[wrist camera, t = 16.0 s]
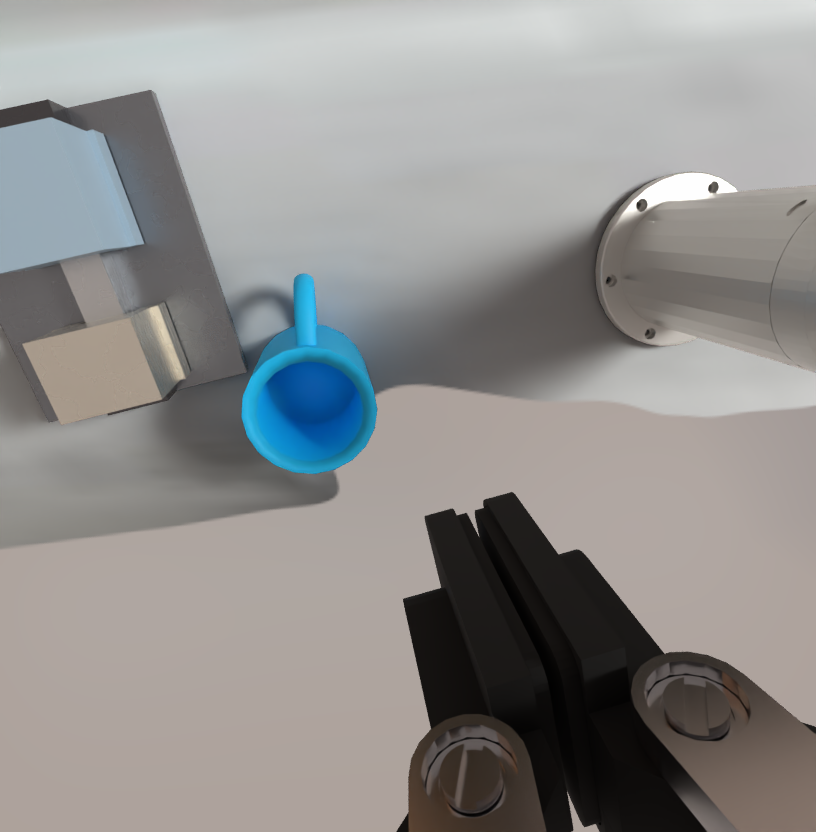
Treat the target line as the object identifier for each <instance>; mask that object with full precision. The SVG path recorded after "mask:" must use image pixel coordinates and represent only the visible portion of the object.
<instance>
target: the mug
mask: <svg viewBox="0 0 816 832" xmlns="http://www.w3.org/2000/svg"><path fill="white" fill-rule="evenodd" d="M294 320H295V326H294V327H290V328H289V329H287V330H285V331H283V332H281V333H279V334H278V335H276V336H275V337H274V338H273V339H272V340H271V341H270V342H269V343H268V345H267V346H266V347H265V348H264V350H263V352H262V354H261V356H260V358H259V361H258V363H257V365H256V367H255V369H254V372H253V374H252V376H251V378H250V381H249V383H248V385H247V388H246V390H245V392H244V395H243V400H242V420H243V424H244V427H245V430H246V434H247V437H248V438H249V440H250V441H251V442H252V444H253V445H254V447H255V448H256V450H257V451H258V452H259V453H260V454H261V455H262V456H264V457H265V458H266V459H267V460H269V461H270V462H271V463H273V464H274V465H276V466H278V467H281V468H284V469H286V470H289V471H292V472H295V473H309V474H317V473H321V472H326V471H331V470H335V469H337V468H338V467H340V466H342V465H344V464H346V463H348V462H350V461H351V460H353V459H354V458H355V457H356V456H357V455H358V454H359V452H361V450H362V449H364V448H365V446H366V445H367V443H368V441H369V439H370V437H371V435H372V433H373V431H374V428H375V422H376V415H377V406H376V400H375V395H374V390H373V387H372V384H371V381H370V378H369V374H368V371H367V368H366V365H365V362H364V359H363V357H362V356H361V354H360V352H359V350H358V349H357V347H356V345H355V344H354V343H353V342H352V341H350V340H349V339H348V338H347V337H346V336H345V335H344V334H343V333H341V332H339V331H337V330H334V329H332V328H330V327H328V326H323V325H317V315H316V301H315V288H314V281H313V278H312V277H311V276H310V275H308V274H299V275H297V276H296V277H295V279H294Z"/></svg>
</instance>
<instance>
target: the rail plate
mask: <svg viewBox="0 0 816 832" xmlns="http://www.w3.org/2000/svg"><path fill="white" fill-rule="evenodd" d="M50 117H52V118H54V119H57V120H60V121H62V122H65V123H67V124H70V125H72V126H75V127H77V128H80V129H82V130H85V131H89V130H95V131H98V132H100V133H103V134H104V137H105V140H106V142H107V145H108V148H109V150H110V153H111V156H112V158H113V161H114V164H115V166H116V169H117V172H118V175H119V177H120V180H121V183H122V185H123V188H124V191H125V193H126V196H127V199H128V201H129V204H130V207H131V209H132V212H133V215H134V217H135V220H136V223H137V225H138V228H139V231H140V233H141V236H142V239H143V242H144V244H143V245H138V246H134V247H130V248H126V249H121V250H115V251H109V252H104V253H100V254H96V255H91V256H87V257H83V258H78V259H74V260H70V261H65V262H61V263H60V264H56V265H52V266H48V267H44V268H39V269H34V270H27V271H25V270H24V271H18V272H11V273H5V274H0V324H1V326H2V328H3V330H4V332H5V334H6V336H7V338H8V340H9V342H10V344H11V346H12V348H13V350H14V353H15V355H16V357H17V359H18V361H19V363H20V365H21V367H22V369H23V371H24V373H25V375H26V377H27V379H28V381H29V383H30V385H31V387H32V389H33V391H34V393H35V395H36V397H37V400H38V402H39V404H40V406H41V408H42V410H43V412H44V414H45V416H46V418H47V420H48V422H53V421H57V420H59V422H60V424H61V425H63V424H67V423H71V422H75V421H79V420H83V419H87V418H91V417H95V416H99V415H103V414H108V415H112V414H116V413H120V412H124V411H128V410H132V409H135V408H139V407H143V406H147V405H151V404H155V403H159V402H163V401H167V400H169V399H170V398H171V396H172V395H173V394H174V393H175V392H176V391H177V390H179V389H183V388H187V387H191V386H195V385H199V384H203V383H207V382H211V381H215V380H219V379H223V378H227V377H231V376H235V375H239V374H243V373H247V371H248V366H247V363H246V360H245V358H244V355H243V352H242V349H241V346H240V343H239V340H238V337H237V334H236V331H235V328H234V325H233V322H232V319H231V316H230V313H229V310H228V307H227V304H226V301H225V298H224V295H223V292H222V289H221V286H220V283H219V280H218V277H217V275H216V272H215V269H214V266H213V263H212V260H211V257H210V254H209V251H208V248H207V245H206V242H205V239H204V236H203V233H202V230H201V227H200V224H199V221H198V218H197V215H196V212H195V209H194V206H193V203H192V200H191V197H190V194H189V192H188V189H187V186H186V183H185V180H184V177H183V174H182V171H181V168H180V165H179V162H178V159H177V156H176V153H175V150H174V147H173V144H172V141H171V138H170V135H169V132H168V129H167V126H166V123H165V120H164V117H163V114H162V111H161V109H160V106H159V103H158V100H157V97H156V94H155V93H154V92H153V91H152V90H148V91H144V92H139V93H134V94H130V95H125V96H121V97H116V98H111V99H107V100H102V101H97V102H93V103H88V104H84V105H79V106H74V107H70V108H65V107H63V106H61V105H59V104H57V103H54V102H52V101H50V100H44V101H39V102H35V103H30V104H25V105H21V106H16V107H11V108H7V109H2V110H0V128H3V127H8V126H12V125H17V124H22V123H26V122H31V121H36V120H40V119H45V118H50Z"/></svg>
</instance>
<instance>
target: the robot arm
mask: <svg viewBox="0 0 816 832" xmlns="http://www.w3.org/2000/svg"><path fill="white" fill-rule="evenodd" d="M636 203H638V207H637V208H636ZM595 274H596V288H597V292H598V296H599V300H600V303H601V305H602V307H603V309H604V311H605V313H606V315H607V316H608V318H609V319H610V320H611V322H612V323H613V324H614V325H615V326H616V327H617V328H618V329H619V330H620V331H622V332H623V333H624V334H626V335H627V336H629V337H631V338H633V339H635V340H638V341H640V342H643V343H646V344H651V345H657V346H673V345H679V344H683V343H687V342H691V341H693V340H695V339H697V338H701V339H705V340H708V341H711V342H715V343H718V344H721V345H725V346H728V347H731V348H735V349H738V350H741V351H745V352H748V353H751V354H755V355H758V356H761V357H765V358H768V359H771V360H775V361H778V362H781V363H785V364H788V365H792V366H795V367H798V368H801V369H805V370H808V371H812V372H815V373H816V185H811V186H798V187H786V188H773V189H760V190H748V191H738V190H737V189H736V188H735V187H734V186H733V185H731V184H730V183H728V182H727V181H725V180H724V179H722V178H720V177H717V176H714V175H711V174H708V173H701V172H683V173H676V174H672V175H668V176H663V177H660V178H658V179H656V180H654V181H652V182H650V183H648V184H646V185H644V186H643V187H642V188H640V189H639V190H637V191H636V192H635V193H633V194H632V195H631V196H630V197H629V198H628V199H627V200H626V201H625V202H624V203H623V204H622V205H621V206H620V208H619V209H618V210H617V212H616V213H615V215H614V216H613V217H612V219H611V220H610V222H609V224H608V226H607V228H606V230H605V232H604V234H603V236H602V240H601V243H600V246H599V250H598V253H597V260H596V268H595ZM607 277H608V282H607V283H606V279H607ZM645 332H646V333H645ZM483 506H484V508H482V509H479V510H475V518H476V523H477V528H478V533H479V536H478V534H477V532H476V530H475V528H474V527H473V524H472V522H471V520H470V519H469V516H468V515H467V513H465V514H461V515H456V513H455V511H454V509H449V510H445V511H442V512H438V513H435V514H431V515H428V516H425V522H426V526H427V531H428V535H429V539H430V543H431V547H432V551H433V555H434V559H435V563H436V568H437V571H438V576H439V580H440V584H441V588H440V589H436V590H433V591H429V592H425V593H422V594H419V595H415V596H411V597H408V598H404V599H403V602H404V607H405V612H406V616H407V621H408V625H409V630H410V634H411V639H412V643H413V648H414V653H415V657H416V662H417V666H418V671H419V676H420V680H421V685H422V689H423V694H424V699H425V703H426V707H427V712H428V717H429V721H430V726H431V730H430V731H429V732H428V733H427V734H426V735H425V737H424V738H423V739H422V740H421V741H420V742H419V744H418V746H417V748H416V750H415V752H414V754H413V756H412V758H411V763H410V770H409V777H408V783H409V784H408V791H409V793H408V801H409V803H408V804H409V805H408V806H409V809H408V810H409V813H408V814H407V816H406V817H405V819H404V821H403V822H402V824H401V825H400V827H399V828H398V830H397V832H571V831H573V824H572V818H571V813H570V806H569V801H568V795H567V792H568V794H569V796H570V798H571V801H572V803H573V805H574V808H575V810H576V812H577V814H578V817H579V819H580V821H581V822H582V825H583V826H584V827H587V826H590V825H593V824H596V825H597V827H598V829H599V831H600V832H816V727H814V726H811V725H808V724H805V723H802V722H800V721H799V720H798V719H797V718H796V717H794V716H793V715H792V714H791V713H789V712H788V711H787V710H786V709H785V708H784V707H782V706H781V705H780V704H779V703H778V702H777V701H775V700H774V699H773V698H772V697H770V696H769V695H768V694H767V693H766V692H765V691H763V690H762V689H761V688H760V687H759V686H757V685H756V684H755V683H754V682H753V681H752V680H750V679H749V678H748V677H747V676H745V675H744V674H743V673H741V672H740V671H738V670H737V669H735V668H734V667H732V666H731V665H729V664H728V663H726V662H724V661H721V660H719V659H716V658H714V657H711V656H709V655H704V654H698V653H693V652H669V653H666V654H664V653H663V651H662V650H661V649H660V648H659V646H658V645H657V644H656V643H655V642H654V640H653V639H652V638H651V636H650V635H649V634H648V633H647V632H646V630H645V629H644V628H643V626H642V625H641V624H640V623H639V622H638V620H637V619H636V618H635V616H634V615H633V614H632V613H631V611H630V610H629V609H628V608H627V606H626V605H625V604H624V603H623V602H622V600H621V599H620V598H619V596H618V595H617V594H616V593H615V591H614V590H613V589H612V588H611V587H610V585H609V584H608V583H607V581H606V580H605V579H604V578H603V577H602V575H601V574H600V573H599V572H598V570H597V569H596V568H595V567H594V565H593V564H592V563H591V561H590V560H589V559H588V558H587V557H586V555H585V554H584V553H582V551H580V550H573V551H570V552H566V553H562V554H559V555H558V553H557V552H556V551H555V549H554V548H553V546H552V545H551V544H550V542H549V541H548V539H547V538H546V537H545V535H544V534H543V533H542V531H541V530H540V529H539V527H538V526H537V524H536V523H535V521H534V520H533V519H532V517H531V516H530V514H529V513H528V512H527V510H526V509H525V508H524V506H523V505H522V503H521V502H520V501H519V499H518V498H517V496H516V495H515V494H514V493H513V492H511V493H507V494H503V495H500V496H496V497H493V498H489V499H485V500H484V501H483Z"/></svg>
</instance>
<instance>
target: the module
mask: <svg viewBox="0 0 816 832" xmlns="http://www.w3.org/2000/svg"><path fill="white" fill-rule="evenodd" d="M143 244H144V242H143V239H142V236H141V233H140V231H139V228H138V225H137V223H136V220H135V217H134V215H133V212H132V209H131V207H130V204H129V201H128V199H127V196H126V193H125V191H124V188H123V185H122V183H121V180H120V177H119V175H118V172H117V169H116V166H115V164H114V161H113V158H112V156H111V153H110V150H109V148H108V145H107V142H106V140H105V137H104V134H103V133H100V132H98V131H95V130H89V131H85V130H82V129H80V128H77V127H75V126H72V125H70V124H67V123H65V122H62V121H60V120H57V119H54V118H52V117H50V118H45V119H40V120H36V121H31V122H26V123H22V124H17V125H12V126H8V127H3V128H0V274H5V273H11V272H18V271H24V270H25V271H27V270H34V269H39V268H44V267H48V266H52V265H56V264H60V263H61V262H65V261H70V260H74V259H78V258H83V257H87V256H91V255H96V254H100V253H104V252H109V251H115V250H121V249H126V248H130V247H134V246H138V245H143Z"/></svg>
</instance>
